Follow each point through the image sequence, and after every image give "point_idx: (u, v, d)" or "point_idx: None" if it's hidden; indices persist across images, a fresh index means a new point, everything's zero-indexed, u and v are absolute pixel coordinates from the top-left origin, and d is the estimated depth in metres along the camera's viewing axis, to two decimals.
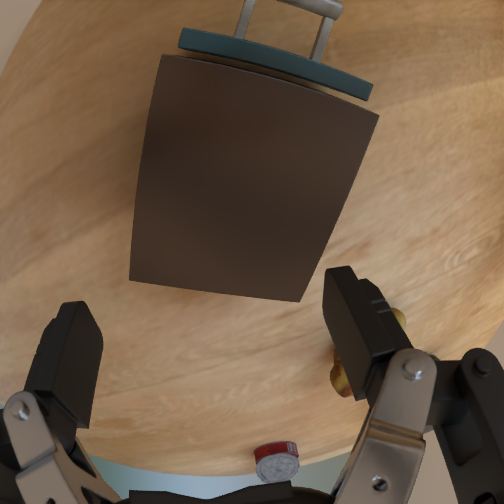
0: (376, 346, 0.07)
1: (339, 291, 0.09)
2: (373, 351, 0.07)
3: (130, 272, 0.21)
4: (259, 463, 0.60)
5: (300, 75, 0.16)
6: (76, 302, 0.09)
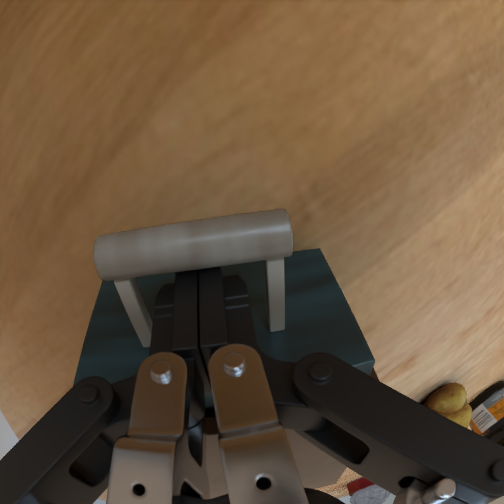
0: (209, 338, 0.08)
1: (199, 285, 0.10)
2: (204, 342, 0.08)
3: None
4: (352, 497, 0.55)
5: None
6: None
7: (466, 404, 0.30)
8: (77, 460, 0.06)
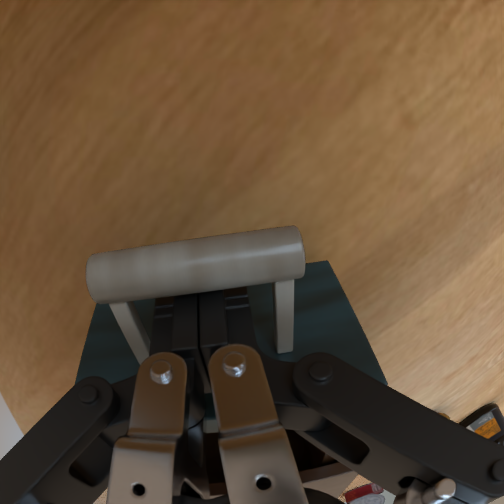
0: (209, 338, 0.08)
1: None
2: (203, 342, 0.08)
3: None
4: None
5: None
6: None
7: None
8: (77, 460, 0.06)
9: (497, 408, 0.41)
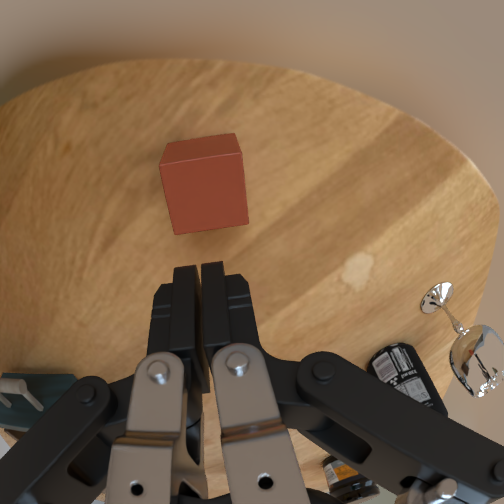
0: (212, 338, 0.08)
1: (201, 284, 0.10)
2: (207, 342, 0.08)
3: None
4: None
5: None
6: (191, 266, 0.10)
7: None
8: (75, 460, 0.06)
9: None
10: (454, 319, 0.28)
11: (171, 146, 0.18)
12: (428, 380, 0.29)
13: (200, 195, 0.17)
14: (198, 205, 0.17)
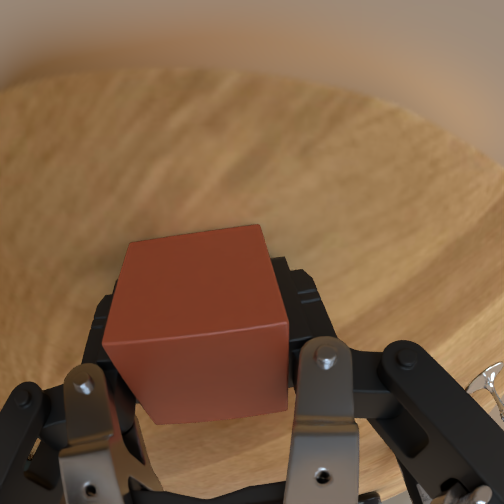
0: (292, 332, 0.08)
1: None
2: None
3: None
4: None
5: None
6: None
7: None
8: (32, 471, 0.06)
9: (373, 499, 0.45)
10: (503, 406, 0.19)
11: (134, 259, 0.09)
12: None
13: (197, 387, 0.08)
14: (194, 399, 0.08)
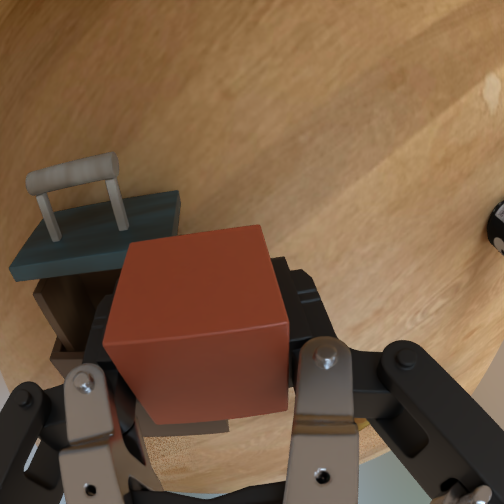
0: (292, 332, 0.08)
1: None
2: None
3: None
4: None
5: (101, 270, 0.18)
6: None
7: None
8: (32, 471, 0.06)
9: None
10: None
11: (134, 259, 0.09)
12: None
13: (198, 387, 0.08)
14: (194, 398, 0.08)
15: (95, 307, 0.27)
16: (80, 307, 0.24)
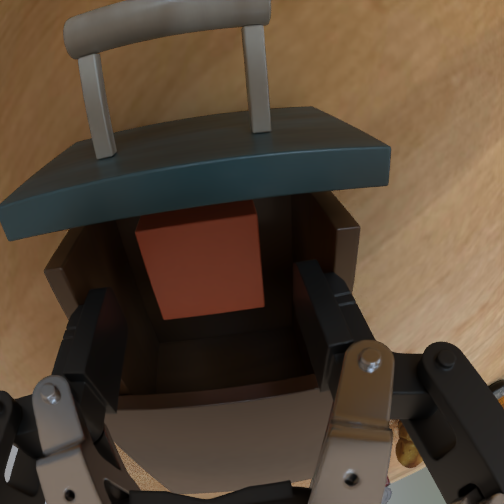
0: (334, 337, 0.07)
1: (303, 283, 0.09)
2: (330, 341, 0.07)
3: (172, 492, 0.19)
4: None
5: (228, 200, 0.08)
6: (104, 288, 0.10)
7: None
8: (14, 481, 0.05)
9: None
10: None
11: None
12: None
13: (197, 273, 0.12)
14: (194, 286, 0.12)
15: (147, 306, 0.18)
16: (127, 304, 0.15)
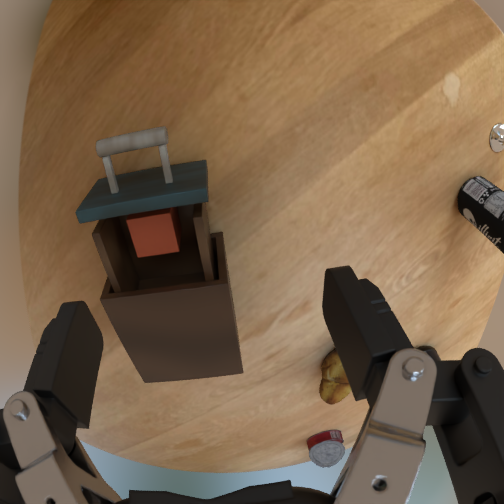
0: (376, 346, 0.07)
1: (339, 291, 0.09)
2: (373, 351, 0.07)
3: (143, 379, 0.37)
4: (310, 451, 0.74)
5: (153, 209, 0.25)
6: (76, 302, 0.09)
7: None
8: None
9: (433, 350, 0.56)
10: None
11: None
12: None
13: (150, 236, 0.29)
14: (149, 241, 0.29)
15: (133, 258, 0.35)
16: (123, 254, 0.32)
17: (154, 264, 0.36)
